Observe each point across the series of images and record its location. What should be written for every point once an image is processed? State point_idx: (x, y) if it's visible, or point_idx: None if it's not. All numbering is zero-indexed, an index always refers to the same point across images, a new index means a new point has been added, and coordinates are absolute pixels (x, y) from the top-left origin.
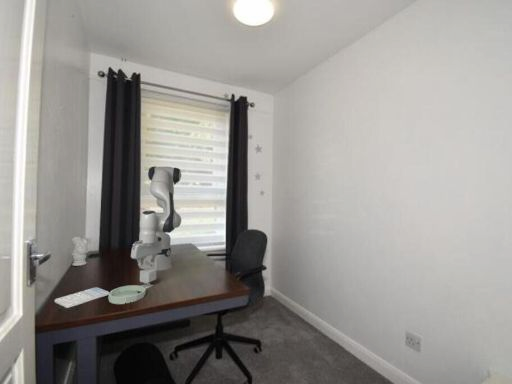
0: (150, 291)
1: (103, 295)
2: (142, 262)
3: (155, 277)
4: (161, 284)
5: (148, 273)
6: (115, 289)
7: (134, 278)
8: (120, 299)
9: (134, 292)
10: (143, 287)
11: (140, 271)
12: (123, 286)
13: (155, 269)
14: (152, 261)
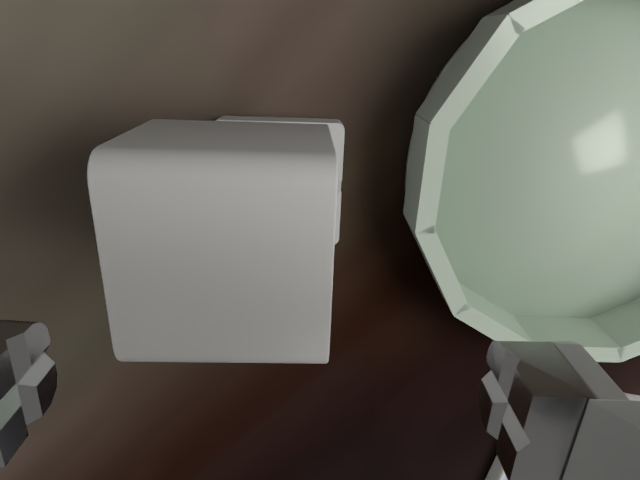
0: (356, 43)
1: None
2: (542, 392)
3: (162, 123)
4: (94, 78)
5: (336, 160)
6: (593, 347)
7: (117, 472)
8: None
9: (476, 181)
10: (463, 90)
11: (327, 353)
12: (495, 339)
13: (104, 165)
14: (35, 347)
